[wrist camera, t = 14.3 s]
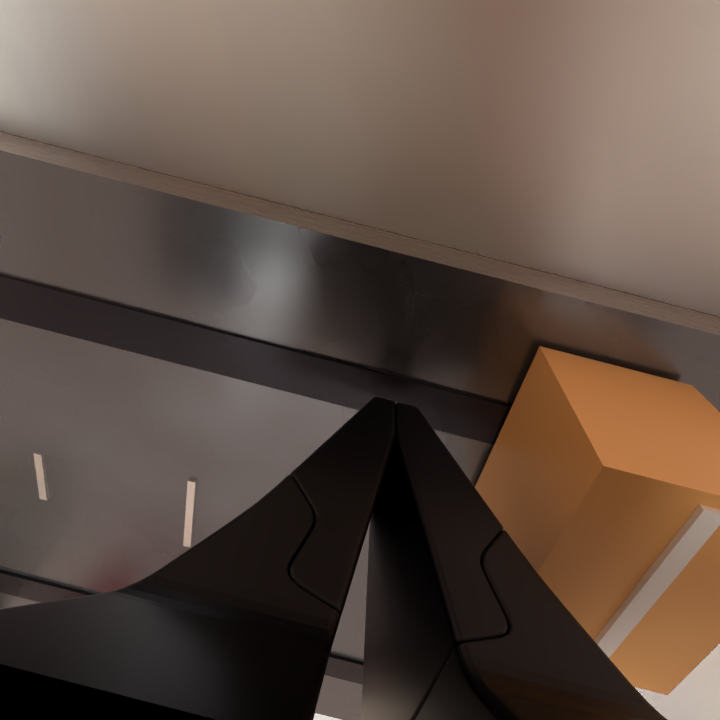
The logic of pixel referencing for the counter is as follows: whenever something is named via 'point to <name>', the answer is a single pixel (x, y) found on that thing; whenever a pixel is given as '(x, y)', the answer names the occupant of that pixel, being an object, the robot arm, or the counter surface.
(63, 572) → the board
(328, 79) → the counter surface
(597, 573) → the fader knob orange
